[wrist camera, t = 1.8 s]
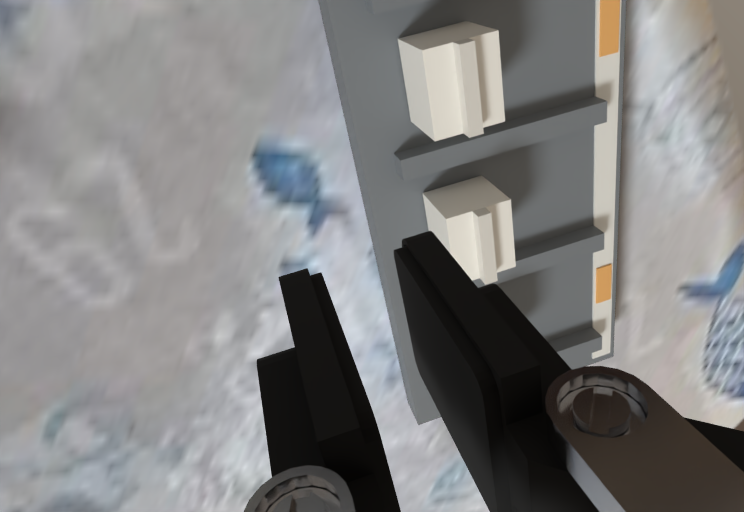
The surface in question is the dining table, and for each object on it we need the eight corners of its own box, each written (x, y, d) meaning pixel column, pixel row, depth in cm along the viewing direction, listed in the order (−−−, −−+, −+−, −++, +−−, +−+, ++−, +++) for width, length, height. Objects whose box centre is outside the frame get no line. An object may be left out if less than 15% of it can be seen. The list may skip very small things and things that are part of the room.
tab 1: (397, 38, 23) (427, 52, 20) (466, 21, 24) (505, 32, 20) (410, 121, 25) (440, 146, 22) (474, 103, 25) (512, 125, 22)
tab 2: (422, 193, 27) (451, 225, 24) (481, 175, 27) (517, 204, 24) (432, 255, 29) (460, 292, 26) (488, 238, 29) (521, 273, 26)
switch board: (303, -65, 22) (317, -67, 20) (600, -133, 24) (648, -143, 22) (408, 402, 36) (424, 437, 33) (594, 337, 37) (623, 366, 35)
